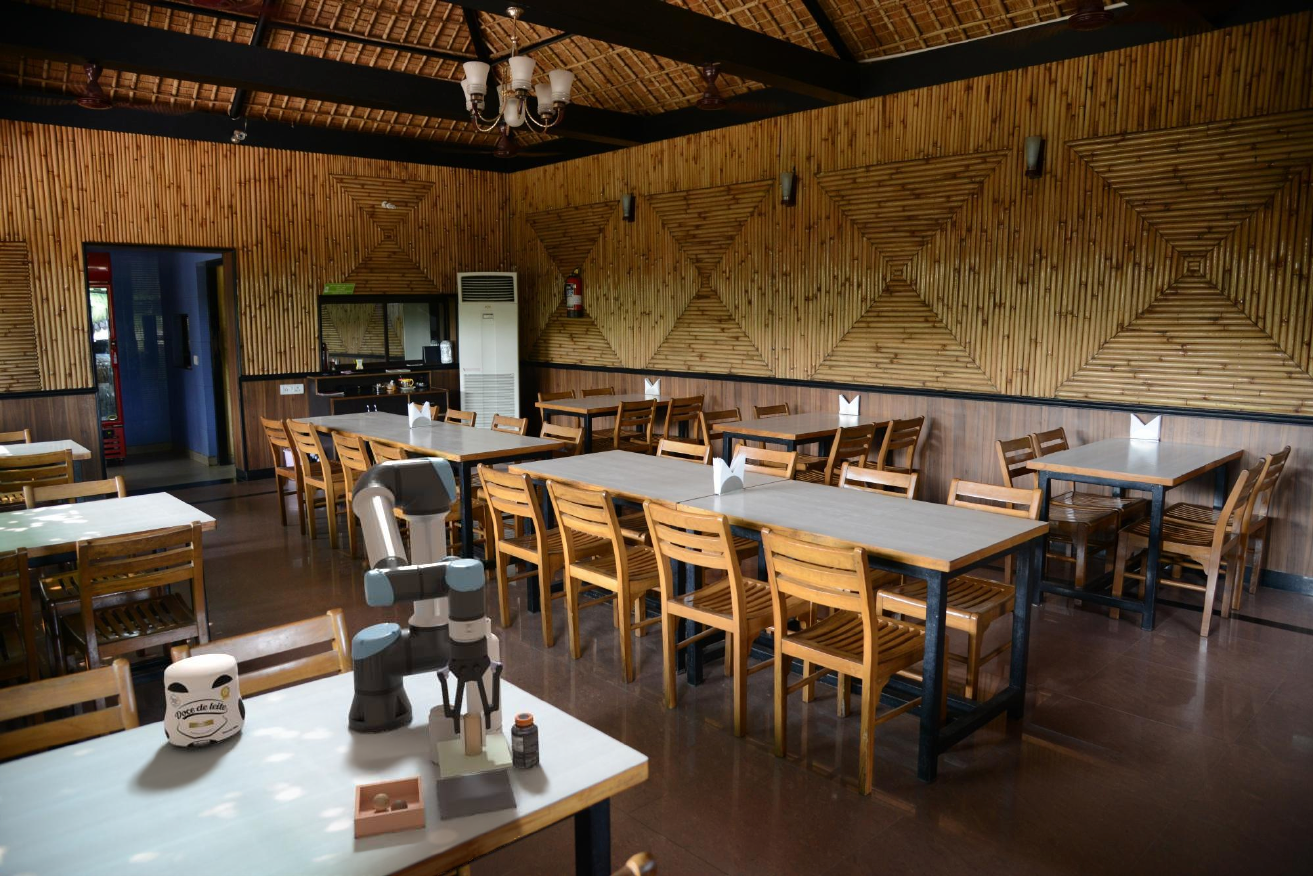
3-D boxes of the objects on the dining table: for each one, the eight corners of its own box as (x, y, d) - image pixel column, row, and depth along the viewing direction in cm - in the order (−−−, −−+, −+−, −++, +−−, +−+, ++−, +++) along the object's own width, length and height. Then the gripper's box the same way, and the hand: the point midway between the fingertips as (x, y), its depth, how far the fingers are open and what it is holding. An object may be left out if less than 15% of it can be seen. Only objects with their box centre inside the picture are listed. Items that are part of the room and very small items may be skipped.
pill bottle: (538, 756, 200) (536, 708, 199) (540, 769, 194) (538, 720, 193) (511, 759, 199) (509, 711, 197) (513, 772, 193) (511, 723, 192)
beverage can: (452, 767, 196) (450, 716, 194) (425, 765, 197) (423, 714, 195) (464, 754, 202) (462, 704, 200) (438, 751, 203) (435, 702, 202)
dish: (357, 804, 181) (356, 786, 181) (422, 793, 185) (421, 775, 184) (355, 839, 169) (353, 819, 168) (425, 827, 173) (424, 807, 172)
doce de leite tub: (192, 761, 201) (186, 685, 198) (150, 743, 210) (143, 670, 207) (261, 731, 215) (256, 660, 213) (219, 715, 224) (213, 647, 222)
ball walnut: (391, 812, 177) (390, 797, 176) (407, 810, 178) (407, 795, 177) (391, 821, 174) (390, 806, 173) (408, 818, 175) (407, 803, 174)
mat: (436, 783, 189) (436, 780, 189) (506, 771, 193) (506, 769, 193) (440, 820, 175) (440, 817, 175) (516, 807, 179) (516, 804, 179)
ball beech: (373, 806, 179) (372, 792, 179) (389, 804, 180) (388, 789, 180) (373, 815, 176) (372, 800, 176) (389, 812, 177) (388, 797, 177)
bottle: (508, 735, 211) (503, 622, 207) (476, 744, 206) (471, 629, 203) (494, 723, 217) (489, 613, 214) (462, 732, 213) (457, 619, 209)
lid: (437, 746, 188) (435, 706, 186) (503, 736, 192) (501, 697, 190) (441, 777, 174) (439, 735, 173) (512, 766, 178) (510, 724, 177)
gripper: (426, 647, 174) (432, 760, 177) (511, 637, 179) (516, 747, 181) (425, 635, 181) (431, 743, 184) (506, 625, 186) (511, 731, 189)
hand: (473, 745), depth 183 cm, fingers closed on lid, 4 cm apart
